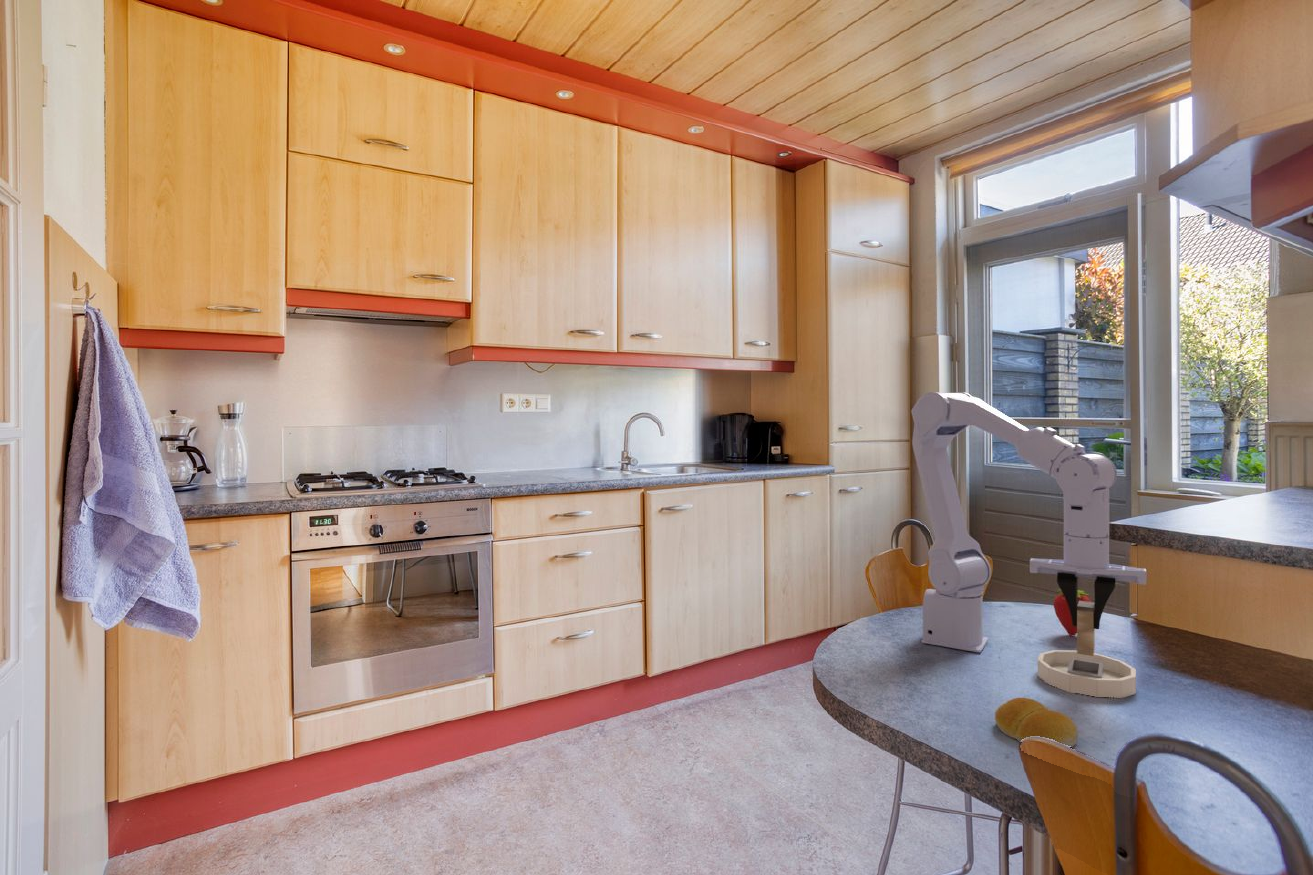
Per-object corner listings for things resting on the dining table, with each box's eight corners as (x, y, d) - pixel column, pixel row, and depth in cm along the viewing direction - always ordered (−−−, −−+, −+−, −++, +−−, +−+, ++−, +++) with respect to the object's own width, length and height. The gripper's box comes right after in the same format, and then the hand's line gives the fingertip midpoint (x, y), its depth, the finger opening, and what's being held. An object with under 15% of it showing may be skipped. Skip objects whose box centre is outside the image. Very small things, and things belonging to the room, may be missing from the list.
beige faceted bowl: (1034, 685, 99) (1034, 668, 99) (1043, 660, 109) (1043, 645, 109) (1136, 704, 92) (1136, 686, 92) (1135, 676, 102) (1135, 659, 102)
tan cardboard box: (1077, 653, 99) (1077, 606, 99) (1078, 646, 103) (1079, 600, 103) (1093, 656, 98) (1093, 608, 98) (1094, 649, 101) (1094, 602, 101)
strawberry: (1097, 634, 122) (1097, 579, 121) (1086, 644, 116) (1086, 587, 116) (1060, 627, 126) (1061, 574, 126) (1047, 636, 121) (1048, 581, 120)
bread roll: (1046, 759, 78) (1046, 725, 78) (983, 726, 87) (983, 696, 87) (1095, 746, 81) (1096, 713, 81) (1030, 715, 90) (1031, 686, 90)
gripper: (1027, 534, 101) (1027, 624, 101) (1147, 543, 93) (1146, 641, 93) (1032, 528, 107) (1032, 613, 107) (1146, 536, 98) (1145, 628, 99)
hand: (1085, 625), depth 100 cm, fingers closed on tan cardboard box, 2 cm apart
